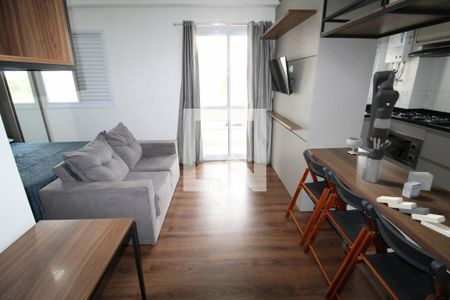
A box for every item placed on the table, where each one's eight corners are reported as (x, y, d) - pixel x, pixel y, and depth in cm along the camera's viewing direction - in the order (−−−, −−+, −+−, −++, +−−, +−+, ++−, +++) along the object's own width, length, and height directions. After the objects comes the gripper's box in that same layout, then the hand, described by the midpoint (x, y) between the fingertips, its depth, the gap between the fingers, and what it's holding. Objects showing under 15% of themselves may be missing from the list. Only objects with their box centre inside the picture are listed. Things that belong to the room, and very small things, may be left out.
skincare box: (424, 186, 145) (428, 172, 142) (430, 190, 140) (434, 176, 136) (406, 185, 148) (409, 170, 145) (410, 189, 142) (414, 174, 139)
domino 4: (411, 214, 113) (437, 218, 102) (418, 212, 114) (444, 216, 104) (412, 218, 112) (438, 223, 102) (419, 216, 114) (445, 220, 103)
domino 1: (376, 198, 129) (396, 200, 119) (381, 196, 131) (402, 197, 121) (377, 201, 129) (397, 204, 119) (382, 199, 131) (403, 201, 121)
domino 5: (421, 220, 108) (450, 233, 98) (427, 217, 110) (456, 230, 100) (420, 224, 109) (449, 237, 99) (426, 221, 111) (455, 234, 101)
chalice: (364, 154, 210) (367, 139, 206) (352, 156, 207) (355, 141, 203) (352, 150, 223) (355, 136, 219) (341, 152, 220) (343, 137, 215)
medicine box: (409, 198, 132) (412, 185, 129) (401, 195, 136) (404, 182, 133) (418, 196, 134) (421, 183, 131) (410, 193, 138) (413, 180, 135)
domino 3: (398, 208, 119) (423, 210, 109) (404, 205, 121) (428, 208, 111) (399, 212, 119) (424, 215, 109) (405, 209, 121) (429, 212, 111)
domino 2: (387, 203, 124) (410, 205, 114) (393, 200, 126) (415, 202, 116) (388, 207, 123) (411, 209, 113) (394, 204, 126) (416, 206, 116)
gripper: (398, 127, 119) (392, 157, 124) (374, 124, 130) (369, 151, 136) (389, 129, 116) (383, 159, 121) (365, 125, 128) (361, 153, 133)
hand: (376, 155), depth 128 cm, fingers closed
